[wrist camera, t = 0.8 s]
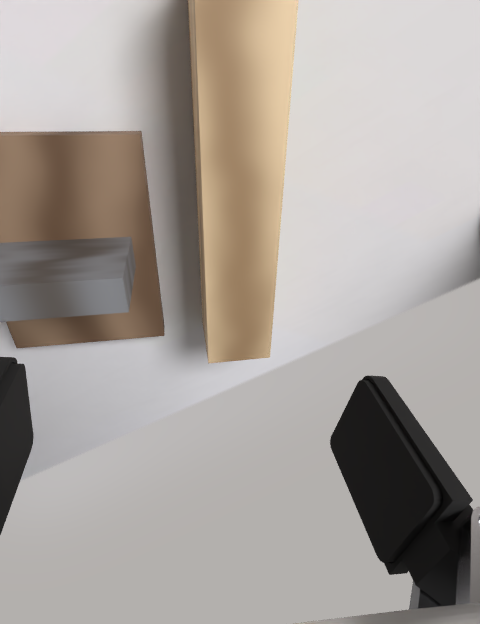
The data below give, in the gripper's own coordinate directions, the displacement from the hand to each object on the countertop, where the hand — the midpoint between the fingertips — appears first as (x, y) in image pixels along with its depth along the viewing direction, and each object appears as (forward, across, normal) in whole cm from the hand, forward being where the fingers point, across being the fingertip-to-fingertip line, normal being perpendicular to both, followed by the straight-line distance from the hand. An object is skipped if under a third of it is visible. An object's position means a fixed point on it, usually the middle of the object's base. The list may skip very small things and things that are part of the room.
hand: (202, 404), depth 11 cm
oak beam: (+21, -4, -1) cm, 21 cm away
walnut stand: (+21, +8, +5) cm, 23 cm away
